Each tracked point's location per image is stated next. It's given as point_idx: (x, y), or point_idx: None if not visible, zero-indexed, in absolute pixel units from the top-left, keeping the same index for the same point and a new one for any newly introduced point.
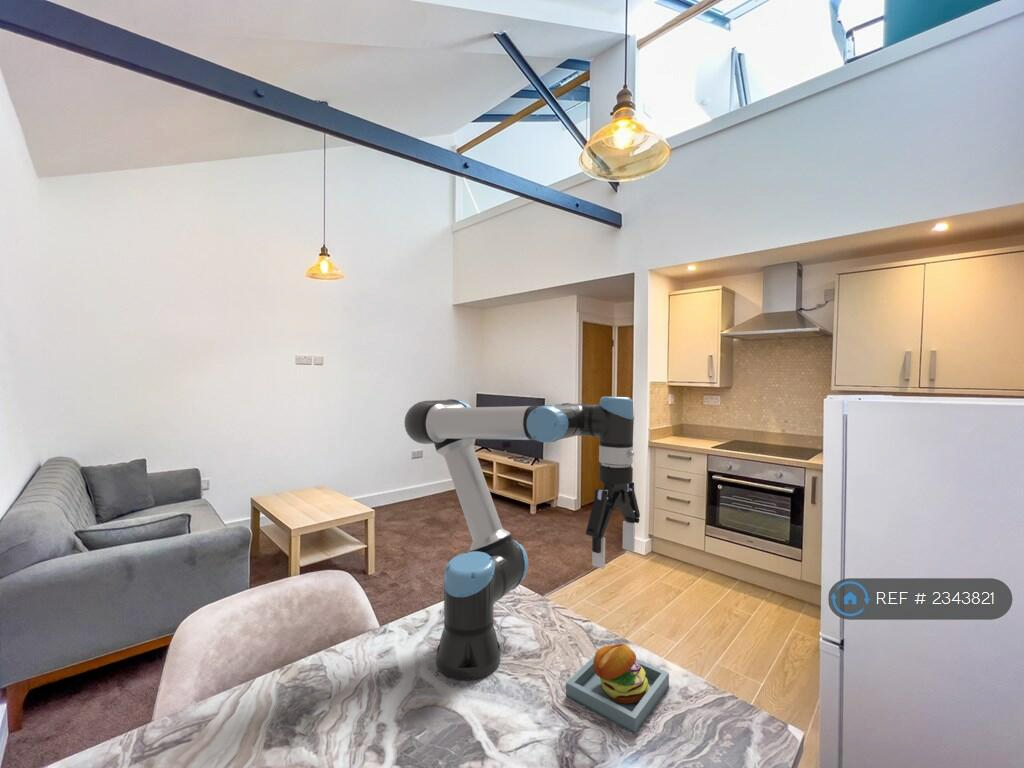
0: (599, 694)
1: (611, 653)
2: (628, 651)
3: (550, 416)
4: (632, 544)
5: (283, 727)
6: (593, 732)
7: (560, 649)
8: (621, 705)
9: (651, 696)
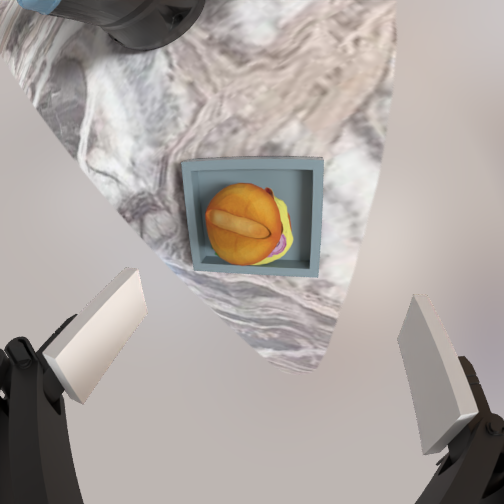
0: None
1: (230, 226)
2: (242, 258)
3: None
4: (404, 361)
5: (16, 32)
6: (168, 221)
7: (287, 78)
8: None
9: (247, 273)
